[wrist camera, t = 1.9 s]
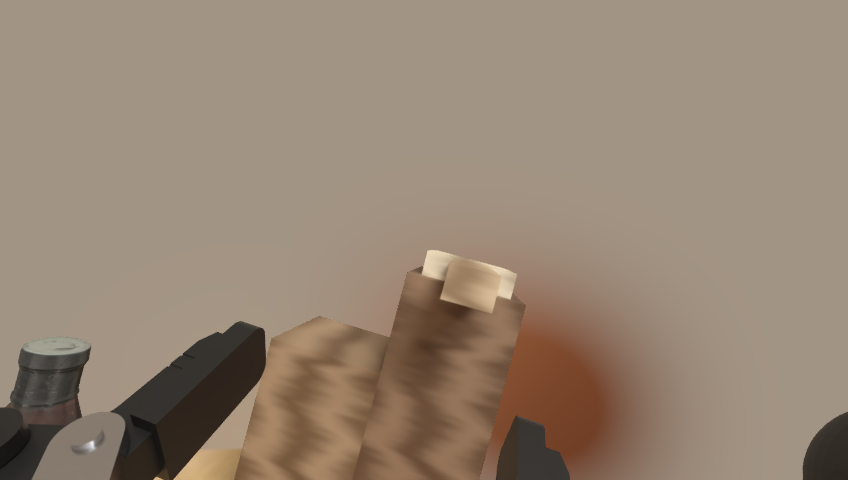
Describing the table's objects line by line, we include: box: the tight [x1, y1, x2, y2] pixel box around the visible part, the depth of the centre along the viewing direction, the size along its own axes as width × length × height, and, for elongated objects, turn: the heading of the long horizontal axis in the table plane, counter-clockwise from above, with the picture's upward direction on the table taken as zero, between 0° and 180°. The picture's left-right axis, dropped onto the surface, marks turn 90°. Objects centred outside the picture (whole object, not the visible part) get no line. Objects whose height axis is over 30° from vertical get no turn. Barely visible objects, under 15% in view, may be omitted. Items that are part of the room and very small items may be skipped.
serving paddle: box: [422, 250, 517, 314], centre depth 35 cm, size 9×22×2 cm, turn 174°
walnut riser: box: [234, 266, 526, 480], centre depth 41 cm, size 23×12×32 cm, turn 84°
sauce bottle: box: [5, 337, 91, 425], centre depth 29 cm, size 7×6×20 cm
